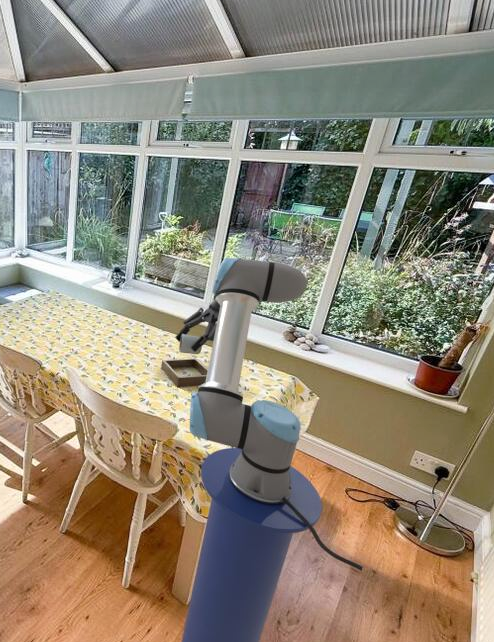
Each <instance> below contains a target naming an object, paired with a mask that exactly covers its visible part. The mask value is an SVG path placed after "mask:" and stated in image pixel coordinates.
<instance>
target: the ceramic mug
mask: <svg viewBox="0 0 494 642" xmlns="http://www.w3.org/2000/svg"><path fill="white" fill-rule="evenodd" d="M200 337H201V336H197V335H189V334H186V335H185V334H182V335H181V338H180V342H179V345H178V352H179V353H182V354H189V355H199V354H200V353H201V351H202V347H203V346H200V347H199V348H198V350H197V351H196V352H194V351H193V350H192V349H191V347H192V346H193V344H194V343H195V342H196V341H197V340H198V339H199V338H200Z"/></svg>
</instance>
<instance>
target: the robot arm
mask: <svg viewBox="0 0 494 642" xmlns="http://www.w3.org/2000/svg"><path fill="white" fill-rule="evenodd" d="M307 288H308V280H307V277H306V275H305V274H304V273H303V272H302V271H301V270H300V269H297V268H296V267H293V266H292V265H289V264H285V263H282V262H275V261H265V260H258V259H257V260H256V259H249V258H242V257H226V258H224V259H223V260H222V262H221V263H220V265H219V268H218V271H217V273H216V275H215V280H214V283H213V287H212V294H213V295H215V296H216V297H215V299H213V300H212V302H210V303H209V305H208V308H206V309H204V308H203V307H199V309H198V310H197V311H195V312H194V313H193V314H191V315H190V316H189V317H187V318H186V319H185V320H183V327H182V328H181V329H180V330H179V332H178V334H176V336H175V337H174V338H175V339H176V341H178V342H179V343H180V338H181V335H182V334H185V335H188V333H189V332H191V329H192V328H195V327H196V326H198V325H200V324H203V323H208V324H207V326H206V329H205V332H204V334H202V335H201V336H199V337H200V338H199V339H198V340H197V341H196V342H195V343H194V344H193V346H192V347H191V349H192V350H193V351H194V352H196V351H197V350H198V348H199V347H200V346H202V347H203V346H204V345H205V344H206V343H207V342H208V341H210V342H212V347H211V351H210V357H209V362H208V366H207V369H208V372H207V377H206V382H205V383H204V384H202V385H200V386H198V389H197V391H194V392H192V393H191V396H190V397H191V399H190V408H189V409H190V410H189V431H190V433H191V435H192V436H193V437H196V438H199V439H203V440H205V441H206V442H213V443H217V444H219V445H220V444H221V445H224V446H227V447H230V448H239V449H242V452H241V453H240V455H239V456H238V458H237V459H236V461H235V462H234V463H233V464H232V466H231V468H230V472H229V479H230V482H231V484H232V485H233V487H234V488H235V489H236V490H237V491H238V492H239V493H241V494H242V495H243V496H245V497H246V498H248V499H250V500H252V501H255V502H257V503H260V504H264V505H281V504H284V503H286V504H287V505H288V506H289V507H290V508H291V509H292V510H293V511H294V513H295V514H296V515H297V516H298V517H299V518H300V519H301V520H302V521H303V522H304V523H305V524H306V525H307V527H308V528H309V529H308V530H309V531H310V533H311V534H312V536H313V538H314V539H315V541H316V543H317V544H318V545H319V547H320V548H321V549H322V550H323V551H325V552H326V553H327V554H328V555H329V556H331V557H333V558H334V559H336V560H337V561H339V562H342V563H344V564H346V565H348V566H351V567H353V568H355V569H356V570H359V571H363V569H364V566H362V565H360V564H359V563H356V562H354V561H351V560H349V559H347V558H345V557H343V556H341V555H339V554H337V553H335V552H334V551H332V550H331V549H330V548H329V547H328V546H326V545H325V544H324V543H323V541H322V540H321V538H320V536H319V535H318V533H317V531H316V529H315V528H314V526H313V527H312V525H311V524H310V523H309V522H308V521H307V520H306V519H305V518H304V517H303V515H302V514H301V513H300V512H299V511H298V510H297V509H296V508H295V507H294V506H293V505H292V504H291V503H290V502H289V501H288V500H289V498H290V495H291V492H292V486H291V478H290V471H289V469H290V466H291V465H292V461H293V458H294V455H295V452H296V447H297V444H298V442H299V440H300V435H301V434H300V433H301V421H300V419H299V418H298V416H297V415H296V414H295V413H294V412H293V411H292V410H290V409H289V408H287V407H285V406H284V405H282V404H279V403H277V402H275V401H271V400H268V399H260V400H255V401H254V402H253V403H252V404H251V405H249V404H244V403H243V402H244V401H243V400H244V396H243V395H242V393H241V392H240V390H239V387H240V381H241V375H242V370H243V363H244V360H245V359H244V358H245V351H246V346H247V342H248V335H249V330H250V329H249V328H250V323H251V318H252V311H254V310H255V309H257V308H258V307H259V305H260V302H265V303H274V304H275V303H277V304H278V303H279V304H280V303H287V302H292V301H296V300H297V299H299V298H301V297H302V296H303V295H304V294H305V292H306V290H307Z"/></svg>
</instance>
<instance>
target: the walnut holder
mask: <svg viewBox="0 0 494 642" xmlns="http://www.w3.org/2000/svg"><path fill="white" fill-rule="evenodd" d="M188 367H190V368H195V370H196V371H198V372H199V375H185V376H180V375H179V374H178V373H177V372H176V371H175V370H174V369H177V368H178V369H179V368H188ZM160 368H161V370H162V371H163V372H164V373H165V374H166V376H167V377H168V378H169V380H170V381H171V383H173V384H174V385H175V387H176V388H186V387H187V388H188V387H189V388H190V387H199V386H201V385H202V384H204V383H205V382H206V377H207V372H208V367H206V366H205V365H204V364H203V363H202V362H201V361H199V360H198V358H196V357H194V358H192V357H191V358H175V359H173V358H172V359H162V360H161V366H160Z"/></svg>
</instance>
